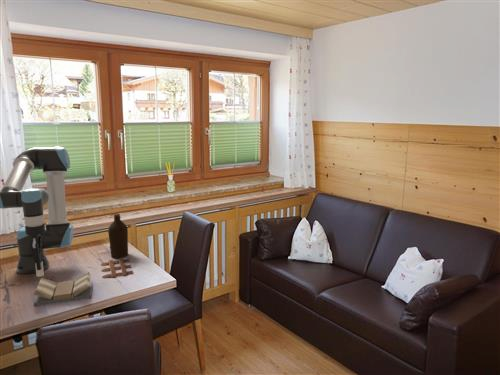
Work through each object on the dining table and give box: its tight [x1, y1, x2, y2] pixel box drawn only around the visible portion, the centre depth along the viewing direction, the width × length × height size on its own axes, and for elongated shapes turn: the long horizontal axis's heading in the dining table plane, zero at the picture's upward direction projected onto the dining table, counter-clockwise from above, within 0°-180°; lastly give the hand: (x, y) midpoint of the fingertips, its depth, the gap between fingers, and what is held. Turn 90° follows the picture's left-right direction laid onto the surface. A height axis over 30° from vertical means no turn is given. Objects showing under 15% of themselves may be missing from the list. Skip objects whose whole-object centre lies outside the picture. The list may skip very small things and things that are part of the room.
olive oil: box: [107, 212, 129, 259], centre depth 223 cm, size 11×11×25 cm
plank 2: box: [72, 271, 92, 296], centre depth 178 cm, size 14×7×2 cm
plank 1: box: [33, 277, 58, 299], centre depth 173 cm, size 14×7×2 cm, turn 19°
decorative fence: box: [100, 257, 134, 279], centre depth 206 cm, size 23×2×15 cm
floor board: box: [33, 280, 94, 307], centre depth 176 cm, size 14×23×4 cm, turn 109°
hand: (40, 275), depth 171 cm, fingers closed
